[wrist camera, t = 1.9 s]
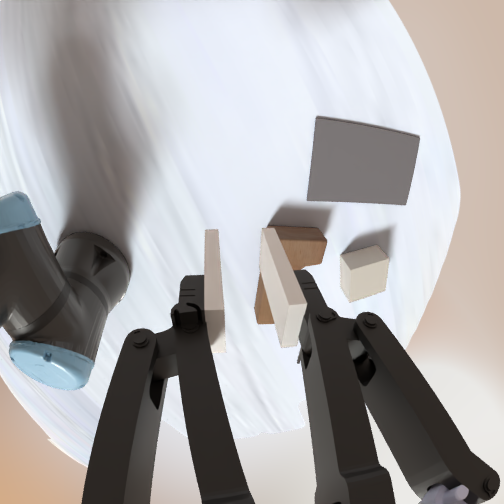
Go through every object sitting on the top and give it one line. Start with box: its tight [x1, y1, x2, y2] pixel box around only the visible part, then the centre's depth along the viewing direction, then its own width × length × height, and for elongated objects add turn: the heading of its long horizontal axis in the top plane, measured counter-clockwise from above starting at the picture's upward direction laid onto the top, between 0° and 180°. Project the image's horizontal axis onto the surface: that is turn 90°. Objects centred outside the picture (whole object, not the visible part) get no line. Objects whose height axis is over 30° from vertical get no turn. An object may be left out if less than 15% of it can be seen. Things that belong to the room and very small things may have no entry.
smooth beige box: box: [340, 245, 389, 303], centre depth 49 cm, size 8×8×5 cm
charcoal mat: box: [307, 118, 420, 205], centre depth 40 cm, size 20×13×1 cm, turn 87°
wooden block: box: [254, 226, 327, 324], centre depth 47 cm, size 9×4×18 cm
